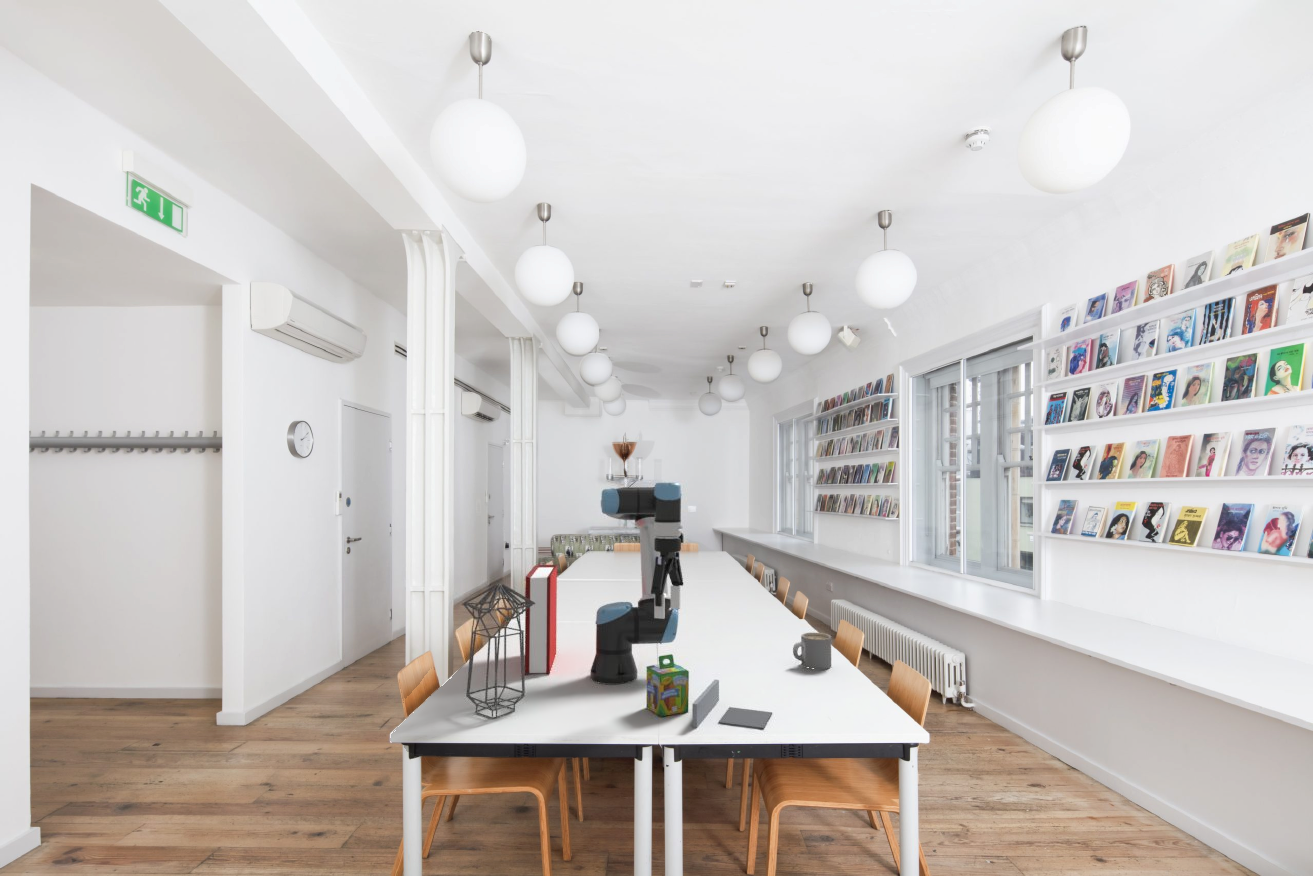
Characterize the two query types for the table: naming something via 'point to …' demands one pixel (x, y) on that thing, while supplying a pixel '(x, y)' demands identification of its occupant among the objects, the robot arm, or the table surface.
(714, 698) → the low wall
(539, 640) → the book
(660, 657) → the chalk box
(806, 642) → the coffee mug
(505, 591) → the geometric lantern
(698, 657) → the table surface
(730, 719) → the mat
